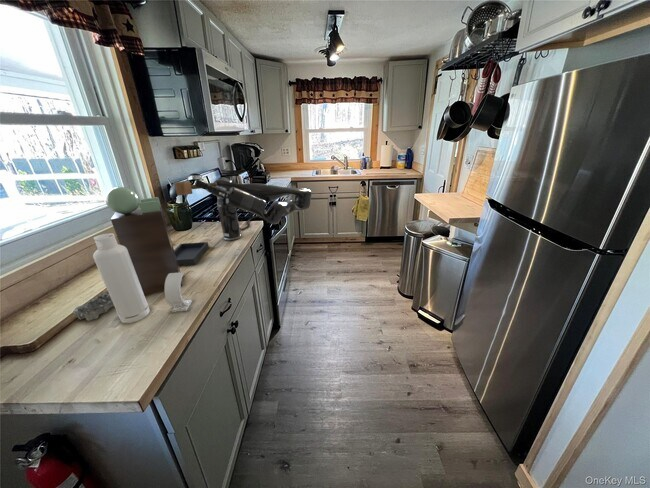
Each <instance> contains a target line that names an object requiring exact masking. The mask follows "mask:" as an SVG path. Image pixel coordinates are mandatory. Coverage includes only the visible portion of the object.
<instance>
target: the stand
mask: <svg viewBox="0 0 650 488" xmlns="http://www.w3.org/2000/svg"><path fill="white" fill-rule="evenodd" d="M160 209H161V211H157V212H150V213H143V214H142V211H141V208H137V209H136V210H135V211H134V212H132V213H129V214H119V213H116V212H113V213H114V214H113V215H112V216H111V218H110V222H111V224H112V226H113V229H114V232H115V235H116V237H117V240H118V243H119V245H122V246H125V247H126V248H127V250H128V253H129V256H130V258H131V261H132V264H133V266H134V269H135V272H136V274H137V277H138V280H139V282H140V285H141V288H142V290H143V293H144V296H145V297H147V296H150V295H154V294H157V293H161V292H165V290H164V288H165V281H166V278H167V276H168V274H169V273H179V272H181V269H180V266H178V262H177V259H176V256H175V252H174V249H175V248H174V245H173V241H172V239H171V235H170V232H169V229H168V225H167V222H166V217H165V214H164V211H163V208H162V206H161V207H160ZM181 287H183V279H182V280H181Z"/></svg>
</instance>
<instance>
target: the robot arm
mask: <svg viewBox="0 0 650 488" xmlns="http://www.w3.org/2000/svg"><path fill="white" fill-rule="evenodd" d="M215 182H216V183H217V186H212V185H210V184H206V183H207V182H205V181H202V180H199V179H196V180H195V182H194V185H196V186H197V187H200V189H202V190H205V191H206V192H208V193H210V194H212V195H214V196H216V198H217V201H216V202H217V204H216V206H217V210H218V216H219V221H220V227H221V230H222V236H223V240H224V241H236V240H238V239H240V238H241V237H242V234H241V231H243V230H246V229H248V228H249V227H251V224H250V221H251V220H254V219H258V218H261V219H263V220H264V221H266V222H267V223H268V224H271V225H277V224H278V223H280V222H281V220H282V218H283V217H287V216H289V215H291V214H292V213H296V212H301V211H306V210H308V209H309V208H310V207H311V200H312V193H313V191H312V190H310V189H307V188H303V187H302V188H301V187H290V186H289V187H288V186H280V185H273V184H268V183H267V184H265V183H259V182H258V183H255V182H254V183H237V182H232V180H230V179H229V178H227V177H226V176H225V177H223V176H222V177H219V178H217V179H216V180H215V181H214V182H213V183H215ZM290 195H293V200H292V199H285V200H282V201H280V200H278V199H280V198H282V197H285V196H290ZM270 202H272V203H271V204H270V206H269V208H268V209H267V210H266V207H267V203H270ZM237 209H239V210H242V211H245V212H249V213H252V214H254V215H257V216H254V217H253V216H252V217H250V218H249V219H248V220H247V222H246V224H247V226H245V227H241V226H240V222H239V217H238V212H237Z"/></svg>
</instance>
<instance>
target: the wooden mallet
mask: <svg viewBox="0 0 650 488" xmlns="http://www.w3.org/2000/svg"><path fill="white" fill-rule="evenodd" d="M214 182H215V181H214ZM214 182H205V183H206V184H210V185H212V186H217V183H216V182H215V183H214ZM173 185H174V187H175V191H176V192H175V193H176V195H177V197H178V196H179V197H180V196H187V195H193V190H199V189H201V188H200V187H197V186H196V185H195V184H191V182H190V180H183V181H174V182H173Z"/></svg>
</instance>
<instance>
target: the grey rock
mask: <svg viewBox="0 0 650 488" xmlns="http://www.w3.org/2000/svg"><path fill="white" fill-rule="evenodd" d="M113 307H114V308H115V306H114V304H113V302H112V299H111V297H110V295H109V293H105V292H101V293H99V294H98V295H97V297H94V298H92V299H90V300H88V301H86V302H85V303H84V304H81V305H79V306H76V307H75V308H74V310H73V311H72V313H73V314H75V315H76V317H77V319H78V320H80V321H82V320H84V319H86V321H87V322H91V321H92V320H96V319H98V318H99V316H100V315H101V314H105V313H107V312H109V309H111V308H113Z"/></svg>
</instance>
